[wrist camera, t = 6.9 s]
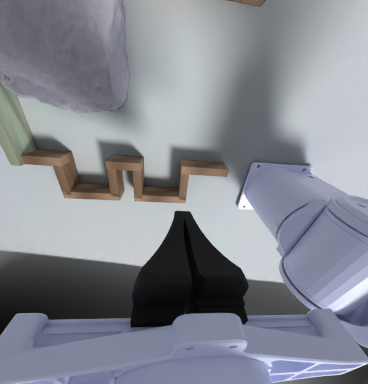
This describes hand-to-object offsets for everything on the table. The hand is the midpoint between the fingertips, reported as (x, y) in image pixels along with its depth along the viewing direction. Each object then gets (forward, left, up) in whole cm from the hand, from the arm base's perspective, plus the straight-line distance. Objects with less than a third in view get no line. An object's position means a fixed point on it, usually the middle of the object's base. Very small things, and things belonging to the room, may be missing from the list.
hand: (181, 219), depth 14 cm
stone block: (+12, -12, -10) cm, 20 cm away
